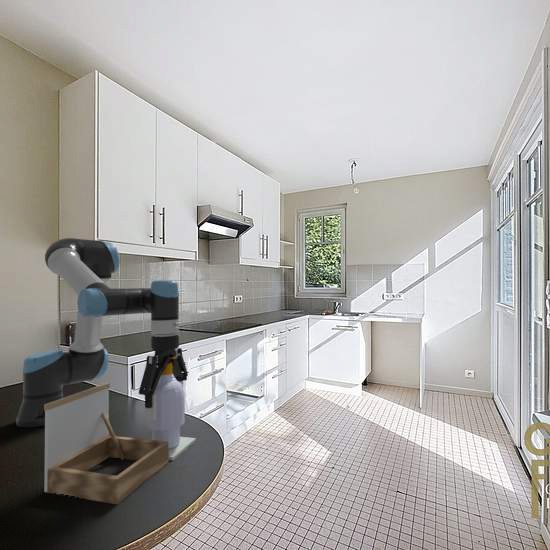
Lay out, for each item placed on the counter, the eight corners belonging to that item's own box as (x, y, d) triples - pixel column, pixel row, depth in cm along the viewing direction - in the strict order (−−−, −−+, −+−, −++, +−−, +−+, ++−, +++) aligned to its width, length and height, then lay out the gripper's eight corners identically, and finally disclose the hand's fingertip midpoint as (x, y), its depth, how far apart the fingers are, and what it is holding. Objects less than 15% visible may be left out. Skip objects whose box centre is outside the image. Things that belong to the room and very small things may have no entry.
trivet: (133, 455, 93) (133, 452, 93) (160, 437, 104) (160, 434, 104) (173, 460, 89) (173, 457, 89) (196, 441, 101) (195, 438, 101)
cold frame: (45, 492, 76) (46, 437, 77) (107, 454, 94) (107, 409, 94) (117, 504, 71) (117, 445, 72) (168, 461, 89) (168, 414, 89)
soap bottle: (181, 451, 92) (180, 360, 94) (141, 454, 91) (141, 361, 93) (188, 436, 102) (187, 353, 104) (152, 438, 102) (152, 355, 103)
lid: (43, 492, 76) (44, 404, 77) (106, 453, 94) (106, 382, 95) (46, 492, 76) (47, 404, 77) (109, 453, 94) (109, 382, 95)
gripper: (149, 341, 85) (149, 429, 84) (198, 329, 109) (199, 398, 108) (123, 340, 87) (123, 426, 86) (177, 329, 111) (178, 396, 110)
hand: (165, 410), depth 97 cm, fingers open, 13 cm apart
